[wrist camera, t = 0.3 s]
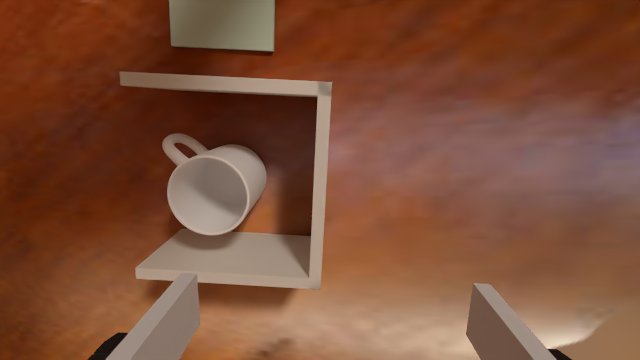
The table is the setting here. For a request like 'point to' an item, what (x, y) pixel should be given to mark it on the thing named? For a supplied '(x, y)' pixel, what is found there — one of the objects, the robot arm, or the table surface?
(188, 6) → the mat
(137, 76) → the cubby
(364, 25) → the table surface
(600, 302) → the table surface
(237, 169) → the cup
